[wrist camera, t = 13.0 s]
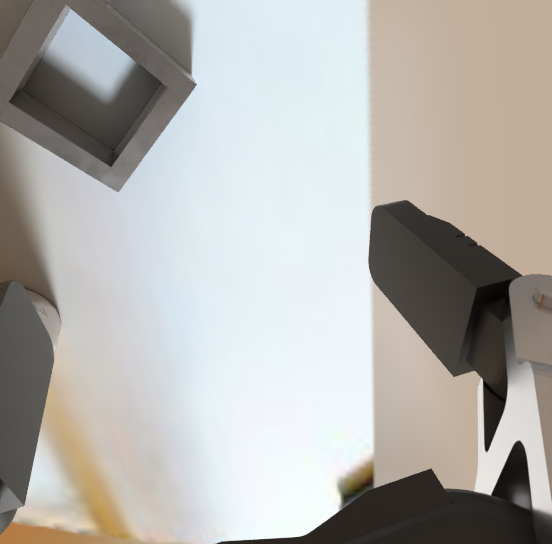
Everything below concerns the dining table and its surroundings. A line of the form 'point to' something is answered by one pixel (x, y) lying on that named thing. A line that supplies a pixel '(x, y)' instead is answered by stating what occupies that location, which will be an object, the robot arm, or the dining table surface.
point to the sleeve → (60, 132)
